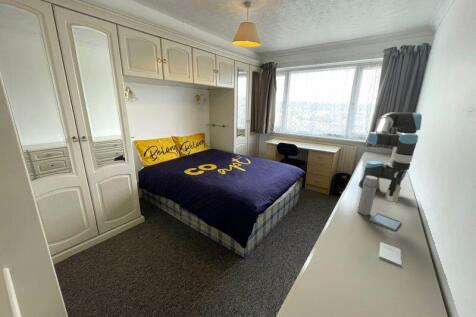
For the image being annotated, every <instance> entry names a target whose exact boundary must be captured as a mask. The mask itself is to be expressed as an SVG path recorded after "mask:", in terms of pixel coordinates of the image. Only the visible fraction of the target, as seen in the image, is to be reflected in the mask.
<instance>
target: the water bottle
mask: <svg viewBox="0 0 476 317" xmlns="http://www.w3.org/2000/svg"><path fill="white" fill-rule="evenodd" d="M377 184H378V178H377V177H374V176H366V177H365V180H364V182H363V188H361V192H360V193H361V194H360V198H359V202H358V207H357V212H358V213H359V214H362V215H364V216H369V215H371V213H372V212H371V211H372V207H373V204H374V200H375V196H376V193H377V191H376V189H377V187H378V185H377Z"/></svg>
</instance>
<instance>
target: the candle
mask: <svg viewBox="0 0 476 317" xmlns="http://www.w3.org/2000/svg"><path fill="white" fill-rule="evenodd" d="M389 187H390V184H388V186H387V191H386V194H385V200H387V197H388V193H389V190H388V188H389ZM401 189H402V186H401V185H400V186H399V185H398V184H397V187H396V190H395V191H396V192H395V195H394V199H393V202H398V199H399V197H400V192H401ZM393 202H392V203H393Z"/></svg>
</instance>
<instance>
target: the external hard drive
mask: <svg viewBox="0 0 476 317" xmlns="http://www.w3.org/2000/svg"><path fill="white" fill-rule="evenodd" d="M378 250H379V252H378V253H379V254H378V259H381V260H384V261H385V262H388V263H391V264H393V265H395V266H398V267H399V268H402V267H403V262H402V249H401V248H398V247H396V246H393V245H390V244H387V243H384V242H379V249H378Z"/></svg>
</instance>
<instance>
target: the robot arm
mask: <svg viewBox="0 0 476 317" xmlns="http://www.w3.org/2000/svg"><path fill="white" fill-rule="evenodd" d="M421 126H422V114H421V113H419V112H403V111H399V112H398V111H391V112H387V113H385V114H383V115H381V116H380V117H379V118H378V119H377V121H376V127H375V129H374V131H371V132H369V134H368V138H367V143H368V144H371V145H376V146H385V147H391V148H392V153H391V157H390V161H388V162H386V164H384V162H382V161H379V160H371V161H370V160H369V161H367V162H366V163H365V166H364V170H363V175H362V178H361V179H360V181H359V182H358V186H359V187H360V188H361V189H362V188H363V182H364V180H365V177H366V176H374V177H377V178H378V184H377V185H378V187H377V189H376V192H378V191H380V188H381V185H380V179H381V180H382V179H383V180H388V181H390V187H389V186H388V187H389V188H388V187H387V190H389V193H388V197H387V199H386V200H387V201H389V202H392V203H393V199H394V195H395V192H396V191H395V190H396V187H397V184H398V185H399V186H400V187H401V183H402V182H403V180H404V179H405V177H406V174H407V173H408V170H409V169H410V167H411V163H412V160H413V157H414V153H415V149H416V146H417V143H418V139H419V135H418V134H416V133H417V132H418V131H420V130H421ZM391 129H395V133H394V134H393V133H390V130H391Z"/></svg>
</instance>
